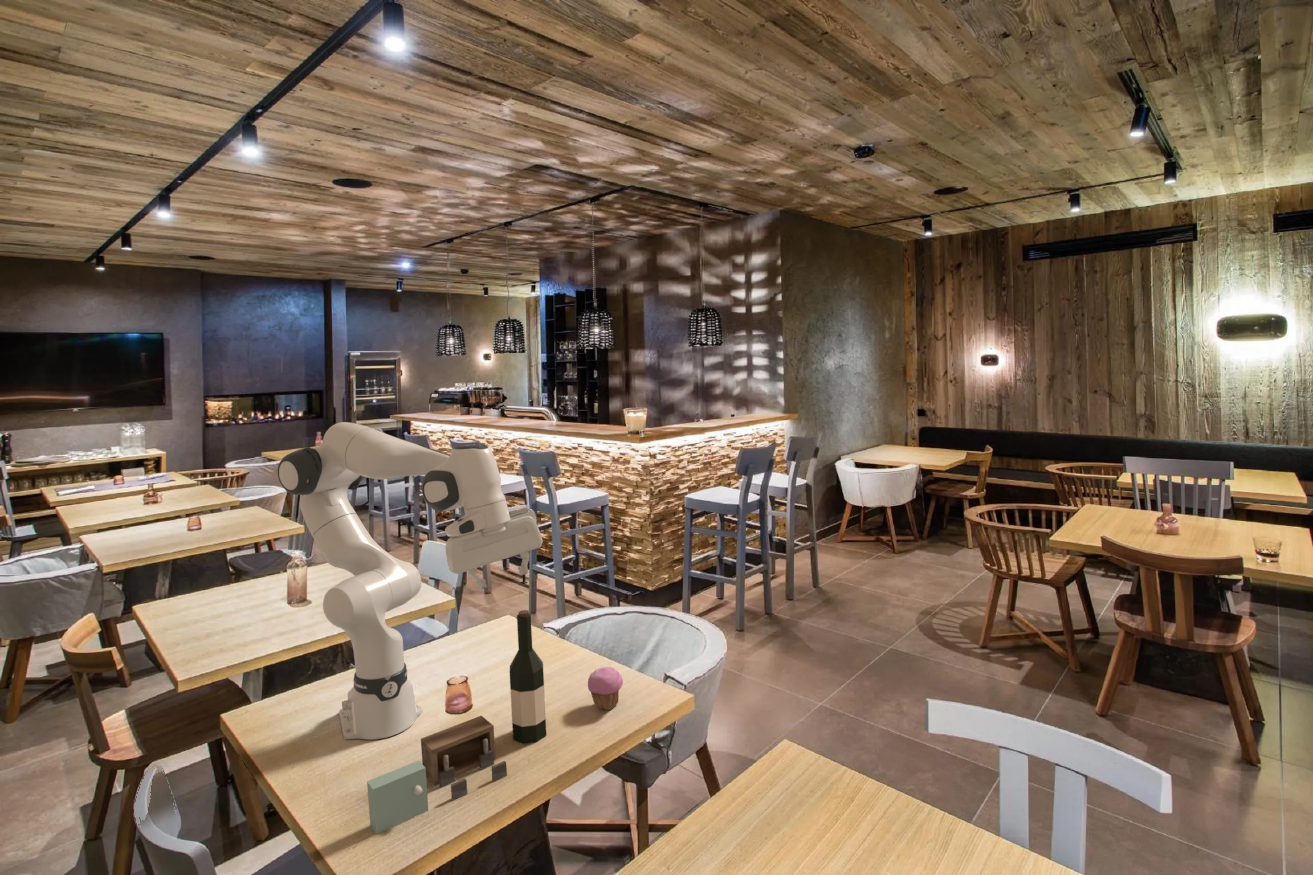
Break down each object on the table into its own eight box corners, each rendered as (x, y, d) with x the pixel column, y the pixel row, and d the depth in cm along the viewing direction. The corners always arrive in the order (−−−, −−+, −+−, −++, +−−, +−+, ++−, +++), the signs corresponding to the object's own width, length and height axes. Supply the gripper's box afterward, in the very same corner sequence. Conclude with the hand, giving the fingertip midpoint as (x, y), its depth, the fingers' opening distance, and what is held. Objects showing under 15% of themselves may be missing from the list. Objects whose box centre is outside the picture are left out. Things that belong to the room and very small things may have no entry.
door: (370, 825, 129) (367, 781, 128) (421, 802, 135) (418, 760, 134) (378, 837, 125) (375, 792, 124) (430, 813, 132) (427, 770, 131)
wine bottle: (539, 745, 154) (533, 619, 151) (506, 742, 156) (499, 617, 153) (552, 726, 163) (546, 606, 160) (520, 723, 164) (514, 604, 161)
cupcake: (628, 701, 174) (627, 664, 173) (614, 717, 166) (613, 678, 165) (597, 696, 177) (596, 659, 176) (582, 711, 169) (581, 673, 168)
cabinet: (423, 773, 145) (420, 738, 144) (483, 748, 154) (481, 715, 153) (448, 802, 135) (446, 764, 134) (511, 773, 144) (509, 738, 143)
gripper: (527, 505, 150) (542, 565, 151) (437, 531, 139) (453, 595, 139) (538, 504, 145) (553, 566, 145) (445, 531, 134) (462, 598, 134)
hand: (503, 581), depth 142 cm, fingers open, 8 cm apart
